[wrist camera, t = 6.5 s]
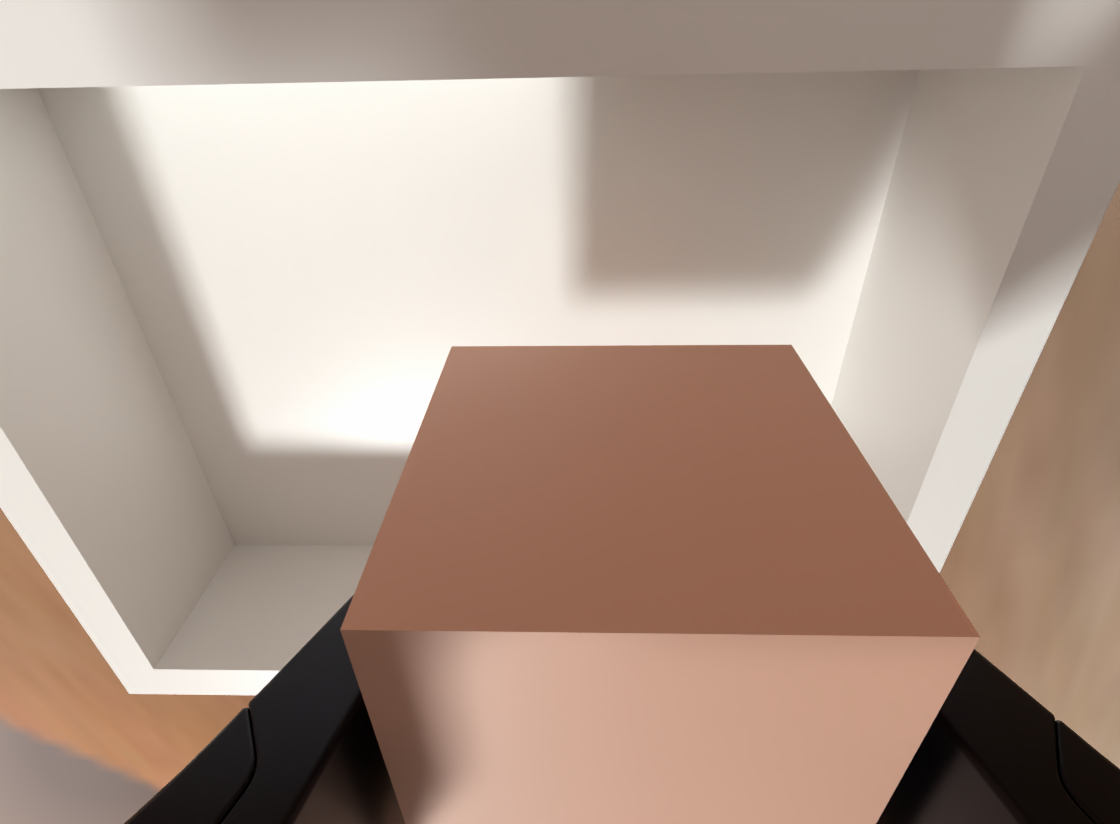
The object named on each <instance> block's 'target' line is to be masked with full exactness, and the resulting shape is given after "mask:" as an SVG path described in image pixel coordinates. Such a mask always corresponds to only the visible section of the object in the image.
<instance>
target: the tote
mask: <svg viewBox="0 0 1120 824" xmlns="http://www.w3.org/2000/svg"><path fill="white" fill-rule="evenodd" d="M1119 182H1120V0H0V508H1V509H2V511H3V512H4V514H5V515H6V516H7V518H8V519H9V521H10V522H11V524H12V525H13V527H14V528H15V529H16V531H17V532H18V534H19V535H20V537H21V538H22V540H23V541H24V542H25V544H26V545H27V547H28V548H29V550H30V551H31V553H32V554H33V555H34V557H35V558H36V560H37V561H38V563H39V564H40V566H41V567H42V568H43V570H44V571H45V573H46V574H47V576H48V577H49V579H50V580H51V581H52V583H53V584H54V586H55V587H56V589H57V590H58V592H59V593H60V594H61V596H62V597H63V599H64V600H65V602H66V603H67V605H68V606H69V607H70V609H71V610H72V612H73V613H74V615H75V616H76V618H77V619H78V620H79V622H80V623H81V625H82V626H83V628H84V629H85V631H86V632H87V633H88V635H89V636H90V638H91V639H92V641H93V642H94V644H95V645H96V646H97V648H98V649H99V651H100V652H101V654H102V655H103V657H104V658H105V659H106V661H107V662H108V664H109V665H110V667H111V668H112V670H113V671H114V672H115V674H116V675H117V677H118V678H119V680H120V681H121V683H122V684H123V685H124V687H125V688H126V690H127V691H128V693H129V694H190V695H257V694H258V693H259V692H260V691H261V690H262V689H263V688H264V687H265V686H266V685H267V684H268V683H269V682H270V681H271V680H272V679H273V678H274V676H275V675H276V674H277V673H278V672H279V671H280V670H281V669H282V668H283V667H284V666H285V665H286V664H287V663H288V662H289V661H290V660H291V659H292V658H293V657H294V656H295V655H296V654H297V653H298V652H299V651H300V650H301V648H302V647H303V646H304V645H305V644H306V643H307V642H308V641H309V640H310V639H311V638H312V637H313V636H314V635H315V634H316V633H317V632H318V631H319V630H320V629H321V628H322V627H323V626H324V625H325V624H326V623H327V621H328V620H329V619H330V618H331V617H332V616H333V615H334V614H335V613H336V612H337V611H338V610H339V609H340V608H341V607H342V606H343V605H344V604H345V603H346V602H347V601H348V600H349V599H350V598H351V597H352V596H353V595H354V593H355V591H356V588H357V586H358V583H359V581H360V578H361V575H362V573H363V570H364V568H365V565H366V563H367V560H368V558H369V555H370V553H371V550H372V548H373V545H374V542H375V540H376V537H377V535H378V532H379V530H380V527H381V525H382V522H383V520H384V517H385V514H386V512H387V509H388V507H389V504H390V502H391V499H392V497H393V494H394V492H395V489H396V487H397V484H398V481H399V479H400V476H401V474H402V471H403V469H404V466H405V464H406V461H407V459H408V456H409V454H410V451H411V448H412V446H413V443H414V441H415V438H416V436H417V433H418V431H419V428H420V426H421V423H422V420H423V418H424V415H425V413H426V410H427V408H428V405H429V403H430V400H431V398H432V395H433V393H434V390H435V387H436V385H437V382H438V380H439V377H440V375H441V372H442V370H443V367H444V365H445V362H446V359H447V357H448V354H449V352H450V349H451V347H452V346H618V345H792V346H793V348H794V349H795V351H796V352H797V354H798V355H799V357H800V359H801V360H802V362H803V363H804V365H805V366H806V368H807V369H808V371H809V372H810V374H811V376H812V377H813V379H814V380H815V382H816V383H817V385H818V386H819V388H820V390H821V391H822V393H823V394H824V396H825V397H826V399H827V400H828V402H829V403H830V405H831V407H832V408H833V410H834V411H835V413H836V414H837V416H838V417H839V419H840V420H841V422H842V424H843V425H844V427H845V428H846V430H847V431H848V433H849V434H850V436H851V438H852V439H853V441H854V442H855V444H856V445H857V447H858V448H859V450H860V451H861V453H862V455H863V456H864V458H865V459H866V461H867V462H868V464H869V465H870V467H871V469H872V470H873V472H874V473H875V475H876V476H877V478H878V479H879V481H880V482H881V484H882V486H883V487H884V489H885V490H886V492H887V493H888V495H889V496H890V498H891V500H892V501H893V503H894V504H895V506H896V507H897V509H898V510H899V512H900V513H901V515H902V517H903V518H904V520H905V521H906V523H907V524H908V526H909V527H910V529H911V530H912V532H913V534H914V535H915V537H916V538H917V540H918V541H919V543H920V544H921V546H922V548H923V549H924V551H925V552H926V554H927V555H928V557H929V558H930V560H931V561H932V563H933V565H934V566H935V568H936V569H937V571H938V572H939V573H940V571H941V569H942V566H943V564H944V562H945V560H946V558H947V556H948V553H949V551H950V549H951V547H952V545H953V543H954V540H955V538H956V536H957V534H958V532H959V530H960V527H961V525H962V523H963V521H964V519H965V516H966V514H967V512H968V510H969V508H970V506H971V503H972V501H973V499H974V497H975V495H976V493H977V490H978V488H979V486H980V484H981V482H982V480H983V477H984V475H985V473H986V471H987V469H988V467H989V464H990V462H991V460H992V458H993V456H994V453H995V451H996V449H997V447H998V445H999V443H1000V440H1001V438H1002V436H1003V434H1004V432H1005V430H1006V427H1007V425H1008V423H1009V421H1010V419H1011V417H1012V414H1013V412H1014V410H1015V408H1016V406H1017V404H1018V401H1019V399H1020V397H1021V395H1022V393H1023V390H1024V388H1025V386H1026V384H1027V382H1028V380H1029V377H1030V375H1031V373H1032V371H1033V369H1034V367H1035V364H1036V362H1037V360H1038V358H1039V356H1040V354H1041V351H1042V349H1043V347H1044V345H1045V343H1046V340H1047V338H1048V336H1049V334H1050V332H1051V330H1052V327H1053V325H1054V323H1055V321H1056V319H1057V317H1058V314H1059V312H1060V310H1061V308H1062V306H1063V304H1064V301H1065V299H1066V297H1067V295H1068V293H1069V291H1070V288H1071V286H1072V284H1073V282H1074V280H1075V277H1076V275H1077V273H1078V271H1079V269H1080V267H1081V264H1082V262H1083V260H1084V258H1085V256H1086V254H1087V251H1088V249H1089V247H1090V245H1091V243H1092V241H1093V238H1094V236H1095V234H1096V232H1097V230H1098V227H1099V225H1100V223H1101V221H1102V219H1103V217H1104V214H1105V212H1106V210H1107V208H1108V206H1109V204H1110V201H1111V199H1112V197H1113V195H1114V193H1115V191H1116V188H1117V186H1118V184H1119Z"/></svg>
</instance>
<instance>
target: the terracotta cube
mask: <svg viewBox="0 0 1120 824" xmlns="http://www.w3.org/2000/svg"><path fill="white" fill-rule="evenodd" d="M340 631H341V634H342V637H343V640H344V643H345V646H346V649H347V652H348V655H349V658H350V661H351V664H352V667H353V670H354V673H355V676H356V679H357V682H358V685H359V688H360V690H361V693H362V696H363V699H364V702H365V705H366V708H367V711H368V714H369V717H370V720H371V723H372V726H373V729H374V732H375V735H376V738H377V741H378V744H379V747H380V750H381V753H382V756H383V759H384V762H385V765H386V768H387V771H388V774H389V776H390V779H391V782H392V785H393V788H394V791H395V794H396V797H397V800H398V803H399V806H400V809H401V812H402V815H403V818H404V821H405V824H876V823H877V821H878V820H879V818H880V816H881V814H882V812H883V811H884V809H885V807H886V805H887V803H888V802H889V800H890V798H891V796H892V795H893V793H894V791H895V789H896V787H897V786H898V784H899V782H900V780H901V778H902V777H903V775H904V773H905V771H906V769H907V768H908V766H909V764H910V762H911V761H912V759H913V757H914V755H915V753H916V752H917V750H918V748H919V746H920V744H921V743H922V741H923V739H924V737H925V735H926V734H927V732H928V730H929V728H930V727H931V725H932V723H933V721H934V719H935V718H936V716H937V714H938V712H939V710H940V709H941V707H942V705H943V703H944V701H945V700H946V698H947V696H948V694H949V693H950V691H951V689H952V687H953V685H954V684H955V682H956V680H957V678H958V676H959V675H960V673H961V671H962V669H963V667H964V666H965V664H966V662H967V660H968V659H969V657H970V655H971V653H972V651H973V650H974V648H975V646H976V644H977V642H978V641H979V639H980V636H979V634H978V633H977V631H976V630H975V628H974V627H973V625H972V623H971V622H970V620H969V619H968V617H967V616H966V614H965V613H964V611H963V609H962V608H961V606H960V605H959V603H958V602H957V600H956V599H955V597H954V596H953V594H952V592H951V591H950V589H949V588H948V586H947V585H946V583H945V582H944V580H943V579H942V577H941V575H940V574H939V572H938V571H937V569H936V568H935V566H934V565H933V563H932V561H931V560H930V558H929V557H928V555H927V554H926V552H925V551H924V549H923V548H922V546H921V544H920V543H919V541H918V540H917V538H916V537H915V535H914V534H913V532H912V530H911V529H910V527H909V526H908V524H907V523H906V521H905V520H904V518H903V517H902V515H901V513H900V512H899V510H898V509H897V507H896V506H895V504H894V503H893V501H892V500H891V498H890V496H889V495H888V493H887V492H886V490H885V489H884V487H883V486H882V484H881V482H880V481H879V479H878V478H877V476H876V475H875V473H874V472H873V470H872V469H871V467H870V465H869V464H868V462H867V461H866V459H865V458H864V456H863V455H862V453H861V451H860V450H859V448H858V447H857V445H856V444H855V442H854V441H853V439H852V438H851V436H850V434H849V433H848V431H847V430H846V428H845V427H844V425H843V424H842V422H841V420H840V419H839V417H838V416H837V414H836V413H835V411H834V410H833V408H832V407H831V405H830V403H829V402H828V400H827V399H826V397H825V396H824V394H823V393H822V391H821V390H820V388H819V386H818V385H817V383H816V382H815V380H814V379H813V377H812V376H811V374H810V372H809V371H808V369H807V368H806V366H805V365H804V363H803V362H802V360H801V359H800V357H799V355H798V354H797V352H796V351H795V349H794V348H793V346H792V345H618V346H452V347H451V349H450V352H449V354H448V357H447V359H446V362H445V365H444V367H443V370H442V372H441V375H440V377H439V380H438V382H437V385H436V387H435V390H434V393H433V395H432V398H431V400H430V403H429V405H428V408H427V410H426V413H425V415H424V418H423V420H422V423H421V426H420V428H419V431H418V433H417V436H416V438H415V441H414V443H413V446H412V448H411V451H410V454H409V456H408V459H407V461H406V464H405V466H404V469H403V471H402V474H401V476H400V479H399V481H398V484H397V487H396V489H395V492H394V494H393V497H392V499H391V502H390V504H389V507H388V509H387V512H386V514H385V517H384V520H383V522H382V525H381V527H380V530H379V532H378V535H377V537H376V540H375V542H374V545H373V548H372V550H371V553H370V555H369V558H368V560H367V563H366V565H365V568H364V570H363V573H362V575H361V578H360V581H359V583H358V586H357V588H356V591H355V593H354V596H353V598H352V601H351V603H350V606H349V609H348V611H347V614H346V616H345V619H344V621H343V624H342V626H341V629H340Z"/></svg>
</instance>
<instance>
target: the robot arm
mask: <svg viewBox="0 0 1120 824" xmlns="http://www.w3.org/2000/svg"><path fill="white" fill-rule="evenodd" d="M353 596H354V595H353ZM353 596H352V597H351V598H350V599H349V600H348V601H347V602H346V603H345V604H344V605H343V606H342V607H341V608H340V609H339V610H338V611H337V612H336V613H335V614H334V615H333V616H332V617H331V618H330V619H329V620H328V621H327V623H326V624H325V625H324V626H323V627H322V628H321V629H320V630H319V631H318V632H317V633H316V634H315V635H314V636H313V637H312V638H311V639H310V640H309V641H308V642H307V643H306V644H305V645H304V646H303V647H302V648H301V650H300V651H299V652H298V653H297V654H296V655H295V656H294V657H293V658H292V659H291V660H290V661H289V662H288V663H287V664H286V665H285V666H284V667H283V668H282V669H281V670H280V671H279V672H278V673H277V674H276V675H275V676H274V678H273V679H272V680H271V681H270V682H269V683H268V684H267V685H266V686H265V687H264V688H263V689H262V690H261V691H260V692H259V693H258V694H257V695H256V696H255V697H254V698H253V699H252V700H251V701H250V703H249V708H244V709H242V710H241V711H240V712H239V713H238V715H237V716H236V717H235V718H234V719H233V720H232V721H231V722H230V723H229V724H228V725H227V726H226V727H225V728H224V729H223V730H222V731H221V732H220V733H219V734H218V735H217V736H216V737H215V738H214V739H213V740H212V741H211V742H210V743H209V744H208V745H207V746H206V747H205V748H204V749H203V750H202V751H201V752H200V753H199V754H198V755H197V756H196V757H195V758H194V759H193V760H192V761H191V762H190V763H189V764H188V765H187V766H186V767H185V768H184V769H183V770H182V771H181V772H180V773H179V774H178V775H177V776H175V777H174V778H173V779H172V780H171V781H170V782H169V783H168V784H167V785H166V786H165V787H164V788H162V789H161V790H160V791H159V792H158V793H157V794H156V795H155V796H154V797H153V798H152V799H151V800H149V801H148V802H147V803H146V804H145V805H144V806H143V807H142V808H141V809H140V810H139V811H138V812H137V813H135V814H134V815H133V816H132V817H131V818H130V819H129V820H128V821H126V822H125V823H124V824H405V821H404V818H403V815H402V812H401V809H400V806H399V803H398V800H397V797H396V794H395V791H394V788H393V785H392V782H391V779H390V776H389V774H388V771H387V768H386V765H385V762H384V759H383V756H382V753H381V750H380V747H379V744H378V741H377V738H376V735H375V732H374V729H373V726H372V723H371V720H370V717H369V714H368V711H367V708H366V705H365V702H364V699H363V696H362V693H361V690H360V688H359V685H358V682H357V679H356V676H355V673H354V670H353V667H352V664H351V661H350V658H349V655H348V652H347V649H346V646H345V643H344V640H343V637H342V634H341V631H340V629H341V626H342V624H343V621H344V619H345V616H346V614H347V611H348V609H349V606H350V603H351V601H352V598H353ZM876 824H1120V769H1119V768H1118V767H1117V766H1115V765H1114V764H1113V763H1112V762H1110V761H1109V760H1108V759H1107V758H1105V757H1104V756H1103V755H1102V754H1100V753H1099V752H1098V751H1097V750H1095V749H1094V748H1093V747H1092V746H1091V745H1089V744H1088V743H1087V742H1086V741H1085V740H1083V739H1082V738H1081V737H1080V736H1079V735H1077V734H1076V733H1075V732H1074V731H1073V730H1071V729H1070V728H1069V727H1068V726H1067V725H1065V724H1064V723H1063V722H1062V721H1059V720H1057V721H1055V718H1054V715H1053V714H1052V713H1051V712H1049V711H1048V710H1047V709H1046V708H1045V707H1043V706H1042V705H1041V704H1040V703H1039V702H1037V701H1036V700H1035V699H1034V698H1033V697H1031V696H1030V695H1029V694H1028V693H1027V692H1025V691H1024V690H1023V689H1022V688H1021V687H1019V686H1018V685H1017V684H1016V683H1015V682H1013V681H1012V680H1011V679H1010V678H1009V677H1007V676H1006V675H1005V674H1004V673H1003V672H1001V671H1000V670H999V669H998V668H997V667H995V666H994V665H993V664H992V663H991V662H989V661H988V660H987V659H986V658H985V657H983V656H982V655H981V654H980V653H979V652H977V651H976V650H975V649H974V650H973V651H972V653H971V655H970V657H969V659H968V660H967V662H966V664H965V666H964V667H963V669H962V671H961V673H960V675H959V676H958V678H957V680H956V682H955V684H954V685H953V687H952V689H951V691H950V693H949V694H948V696H947V698H946V700H945V701H944V703H943V705H942V707H941V709H940V710H939V712H938V714H937V716H936V718H935V719H934V721H933V723H932V725H931V727H930V728H929V730H928V732H927V734H926V735H925V737H924V739H923V741H922V743H921V744H920V746H919V748H918V750H917V752H916V753H915V755H914V757H913V759H912V761H911V762H910V764H909V766H908V768H907V769H906V771H905V773H904V775H903V777H902V778H901V780H900V782H899V784H898V786H897V787H896V789H895V791H894V793H893V795H892V796H891V798H890V800H889V802H888V803H887V805H886V807H885V809H884V811H883V812H882V814H881V816H880V818H879V820H878V821H877V823H876Z"/></svg>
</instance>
